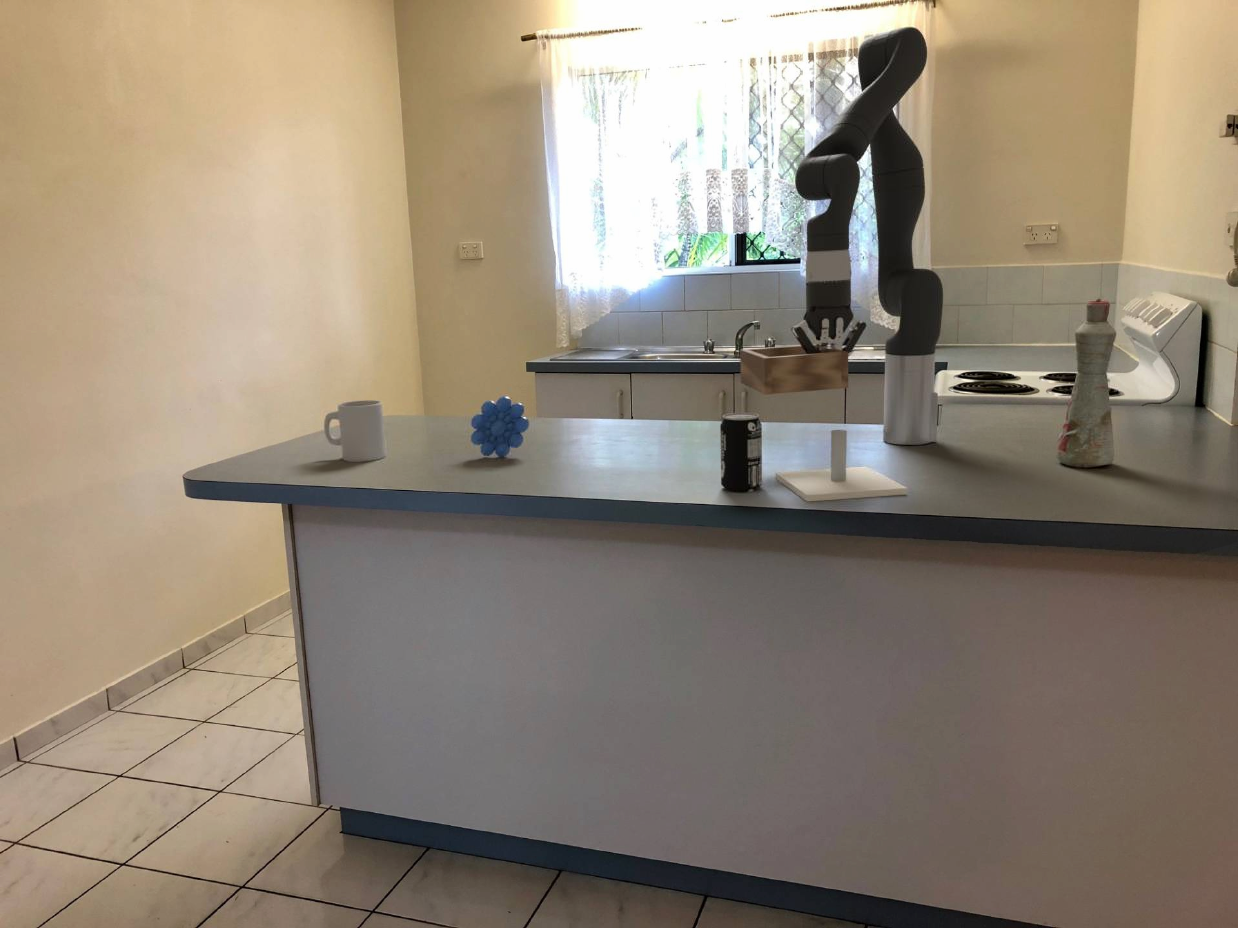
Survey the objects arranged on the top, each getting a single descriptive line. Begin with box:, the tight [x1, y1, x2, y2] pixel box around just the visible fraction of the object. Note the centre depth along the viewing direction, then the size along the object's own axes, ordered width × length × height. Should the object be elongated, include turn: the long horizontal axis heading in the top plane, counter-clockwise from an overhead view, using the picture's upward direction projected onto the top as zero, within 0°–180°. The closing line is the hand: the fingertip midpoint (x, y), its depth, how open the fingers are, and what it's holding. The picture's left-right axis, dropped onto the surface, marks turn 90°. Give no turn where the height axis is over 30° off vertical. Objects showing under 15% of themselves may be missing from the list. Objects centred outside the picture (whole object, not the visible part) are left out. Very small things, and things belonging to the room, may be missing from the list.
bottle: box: [1056, 298, 1117, 468], centre depth 159 cm, size 9×9×28 cm
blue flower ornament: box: [470, 395, 530, 458], centre depth 186 cm, size 12×7×12 cm, turn 86°
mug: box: [323, 400, 387, 463], centre depth 190 cm, size 12×8×11 cm
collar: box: [739, 343, 849, 395], centre depth 164 cm, size 14×14×6 cm
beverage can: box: [719, 412, 763, 493], centre depth 153 cm, size 7×7×12 cm
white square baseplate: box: [774, 429, 908, 502], centre depth 152 cm, size 16×16×9 cm
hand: (829, 379), depth 166 cm, fingers closed on collar, 1 cm apart
